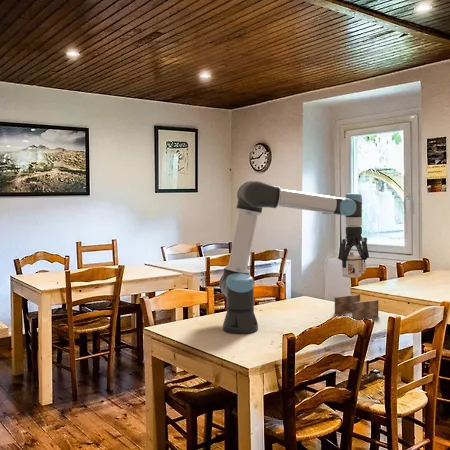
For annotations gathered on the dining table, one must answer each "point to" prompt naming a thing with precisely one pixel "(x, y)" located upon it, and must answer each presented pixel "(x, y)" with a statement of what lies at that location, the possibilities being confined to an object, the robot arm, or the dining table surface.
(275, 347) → the dining table surface
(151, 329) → the dining table surface
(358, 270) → the teacup with lid
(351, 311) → the caddy
